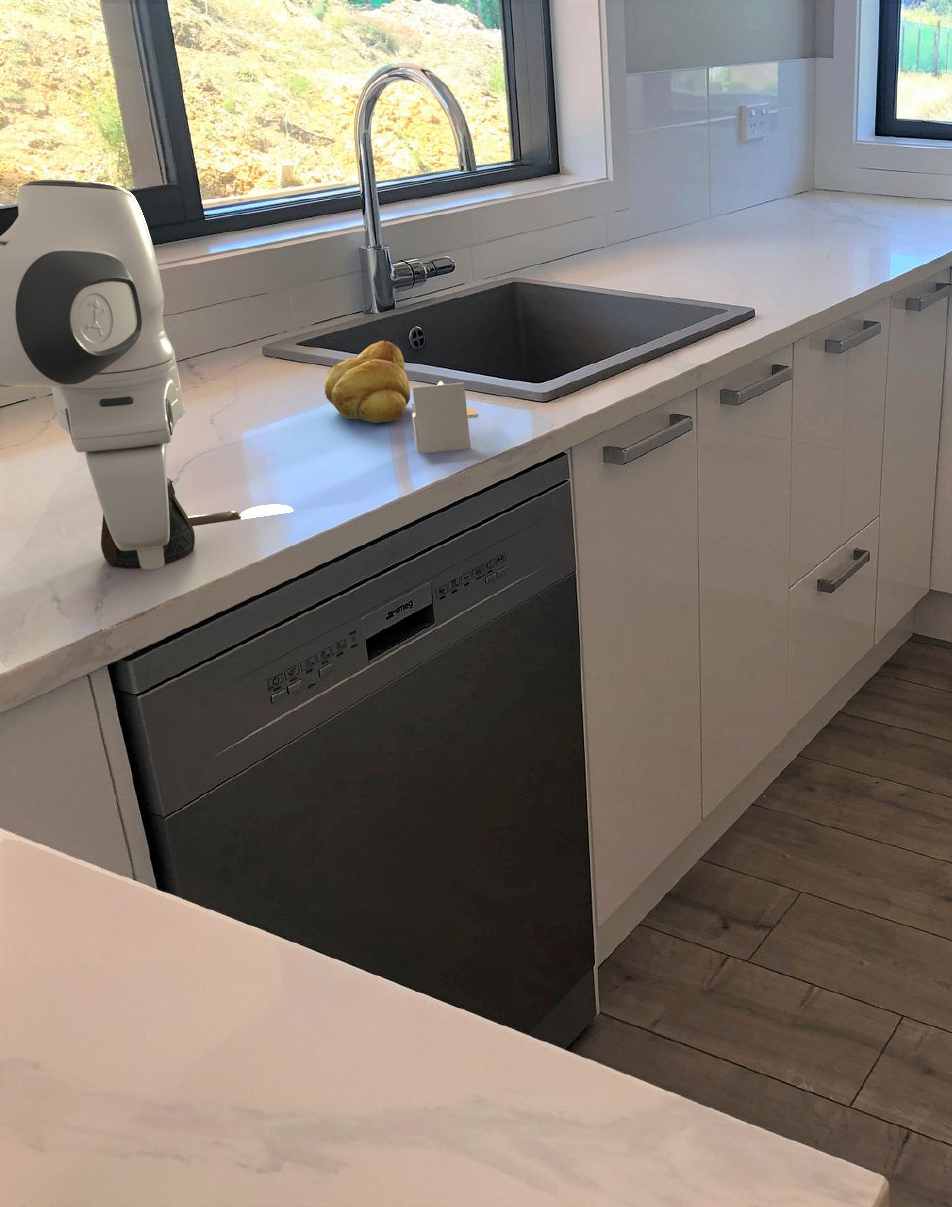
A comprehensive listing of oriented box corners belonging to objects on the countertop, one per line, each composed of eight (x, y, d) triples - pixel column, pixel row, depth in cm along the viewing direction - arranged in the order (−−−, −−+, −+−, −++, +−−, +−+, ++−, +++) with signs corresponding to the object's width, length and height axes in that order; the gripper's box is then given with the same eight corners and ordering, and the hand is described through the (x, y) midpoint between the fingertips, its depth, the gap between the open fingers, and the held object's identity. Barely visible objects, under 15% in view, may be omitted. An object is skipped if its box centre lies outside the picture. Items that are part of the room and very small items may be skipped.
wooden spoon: (131, 550, 118) (127, 533, 117) (130, 532, 122) (127, 516, 121) (297, 527, 124) (295, 511, 123) (292, 511, 127) (289, 496, 127)
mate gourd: (200, 551, 118) (179, 444, 114) (201, 582, 111) (179, 469, 107) (111, 563, 115) (86, 453, 111) (106, 595, 109) (80, 480, 105)
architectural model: (414, 445, 148) (406, 380, 145) (476, 438, 150) (470, 374, 147) (418, 453, 145) (410, 387, 142) (481, 447, 147) (475, 382, 144)
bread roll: (421, 425, 155) (413, 358, 152) (335, 433, 151) (325, 365, 148) (405, 398, 166) (398, 335, 162) (325, 406, 162) (315, 341, 159)
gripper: (76, 370, 108) (110, 526, 114) (69, 437, 92) (109, 616, 97) (160, 363, 111) (189, 516, 117) (168, 427, 94) (201, 602, 100)
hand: (153, 563), depth 107 cm, fingers closed
